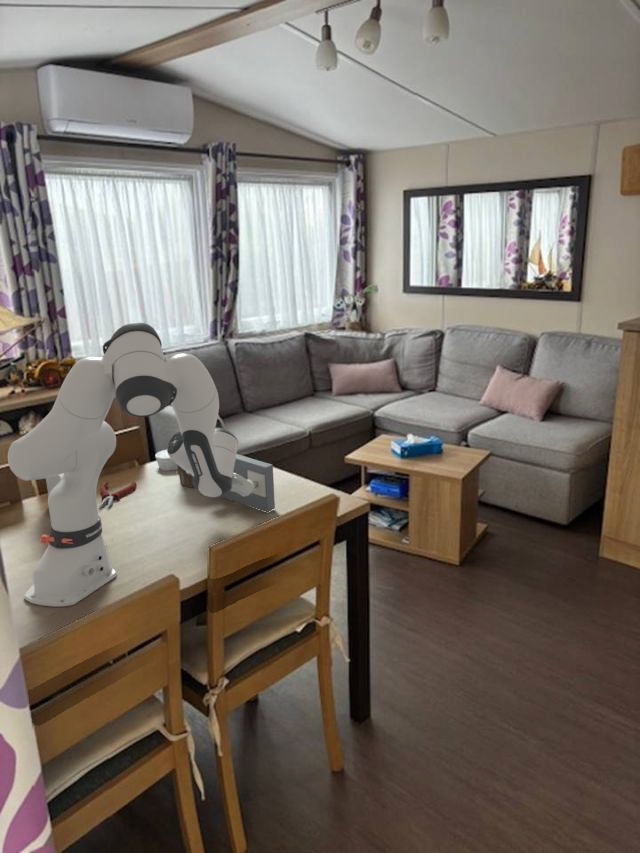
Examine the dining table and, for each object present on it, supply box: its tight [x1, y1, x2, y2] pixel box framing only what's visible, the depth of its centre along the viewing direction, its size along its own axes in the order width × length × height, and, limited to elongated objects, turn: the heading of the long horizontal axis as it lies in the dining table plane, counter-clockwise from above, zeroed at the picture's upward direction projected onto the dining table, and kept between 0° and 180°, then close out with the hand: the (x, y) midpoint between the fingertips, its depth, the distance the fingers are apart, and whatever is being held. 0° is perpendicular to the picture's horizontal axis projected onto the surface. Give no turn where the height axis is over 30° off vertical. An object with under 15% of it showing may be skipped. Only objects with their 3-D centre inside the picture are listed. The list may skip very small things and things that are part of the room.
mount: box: [220, 453, 276, 512], centre depth 200 cm, size 4×24×15 cm, turn 49°
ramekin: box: [154, 449, 178, 471], centre depth 235 cm, size 11×11×5 cm
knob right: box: [240, 479, 258, 496], centre depth 191 cm, size 5×4×4 cm
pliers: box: [98, 481, 137, 510], centre depth 208 cm, size 12×20×3 cm, turn 2°
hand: (237, 490), depth 188 cm, fingers closed
